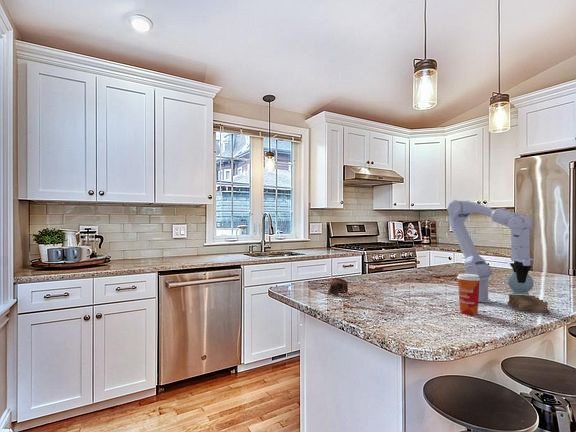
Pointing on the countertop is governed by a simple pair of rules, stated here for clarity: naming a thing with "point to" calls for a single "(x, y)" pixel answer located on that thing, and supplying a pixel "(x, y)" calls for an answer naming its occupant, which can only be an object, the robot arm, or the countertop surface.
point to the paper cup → (468, 293)
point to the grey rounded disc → (520, 284)
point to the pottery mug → (338, 286)
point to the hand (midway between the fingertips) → (520, 282)
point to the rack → (527, 303)
